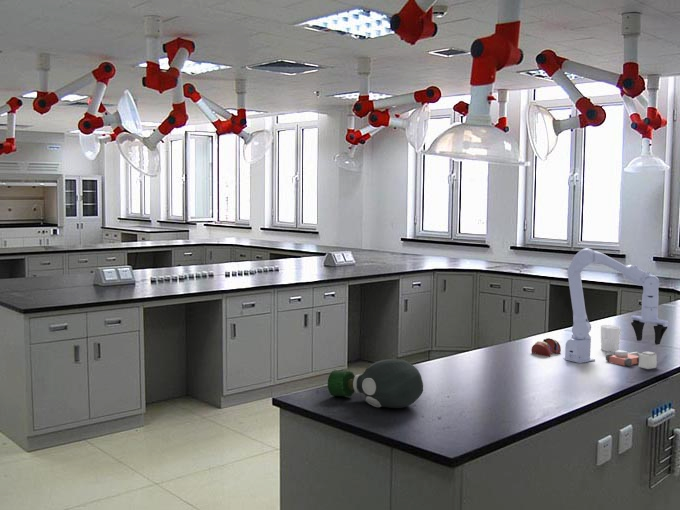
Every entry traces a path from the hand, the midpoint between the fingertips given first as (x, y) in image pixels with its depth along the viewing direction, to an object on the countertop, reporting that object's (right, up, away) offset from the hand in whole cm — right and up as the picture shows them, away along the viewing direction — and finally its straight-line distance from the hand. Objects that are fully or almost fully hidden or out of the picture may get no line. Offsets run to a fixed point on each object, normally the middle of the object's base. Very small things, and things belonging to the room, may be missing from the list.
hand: (648, 342), depth 261 cm
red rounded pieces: (-32, -8, +22) cm, 40 cm away
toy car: (-3, -9, +9) cm, 13 cm away
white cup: (-3, -7, +30) cm, 31 cm away
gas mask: (-105, -13, -48) cm, 117 cm away
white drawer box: (0, -10, 0) cm, 10 cm away
